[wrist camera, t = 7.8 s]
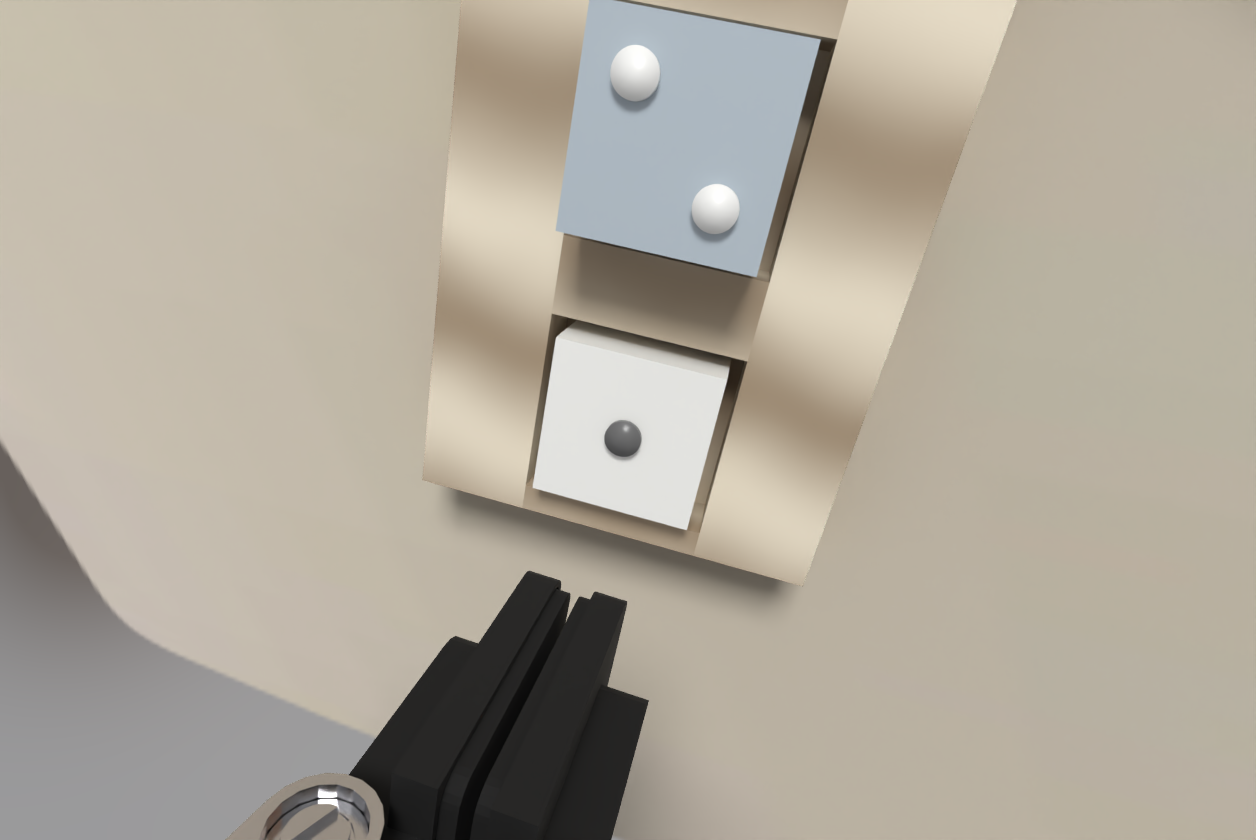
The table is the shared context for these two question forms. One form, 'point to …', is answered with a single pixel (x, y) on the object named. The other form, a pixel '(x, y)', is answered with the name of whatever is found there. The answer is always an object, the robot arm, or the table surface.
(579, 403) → the key
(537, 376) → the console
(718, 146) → the key
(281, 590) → the table surface
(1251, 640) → the table surface
